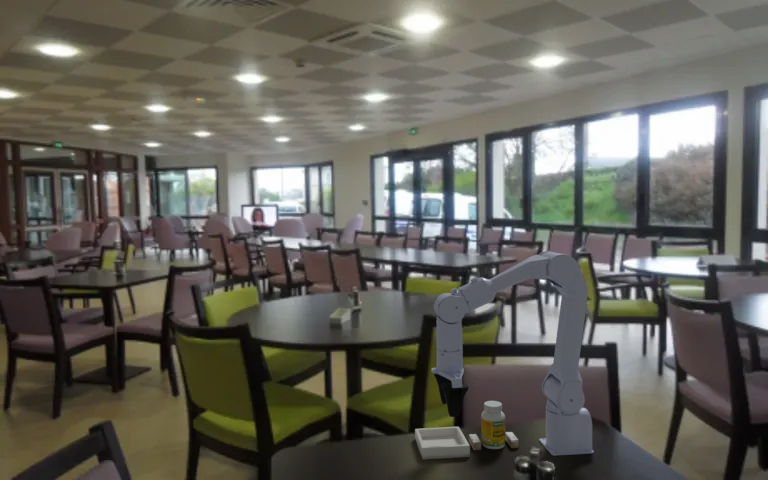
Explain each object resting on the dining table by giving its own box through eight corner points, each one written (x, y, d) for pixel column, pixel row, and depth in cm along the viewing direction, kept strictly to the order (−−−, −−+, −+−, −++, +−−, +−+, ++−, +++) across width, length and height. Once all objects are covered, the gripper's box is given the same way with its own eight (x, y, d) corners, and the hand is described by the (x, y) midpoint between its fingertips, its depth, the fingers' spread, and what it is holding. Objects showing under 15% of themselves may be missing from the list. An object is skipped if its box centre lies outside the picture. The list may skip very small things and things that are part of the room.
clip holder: (512, 439, 126) (512, 431, 126) (518, 447, 122) (518, 439, 122) (469, 441, 125) (468, 434, 125) (473, 450, 121) (473, 442, 121)
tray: (458, 436, 128) (458, 426, 128) (469, 456, 118) (469, 445, 118) (415, 439, 127) (415, 428, 127) (422, 459, 117) (422, 448, 117)
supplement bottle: (493, 437, 127) (493, 397, 127) (510, 446, 123) (510, 404, 122) (476, 443, 124) (476, 402, 124) (493, 452, 120) (493, 409, 119)
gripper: (425, 341, 126) (426, 399, 127) (437, 358, 111) (438, 423, 112) (455, 340, 126) (456, 397, 127) (471, 356, 112) (472, 421, 113)
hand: (450, 409), depth 120 cm, fingers open, 7 cm apart
